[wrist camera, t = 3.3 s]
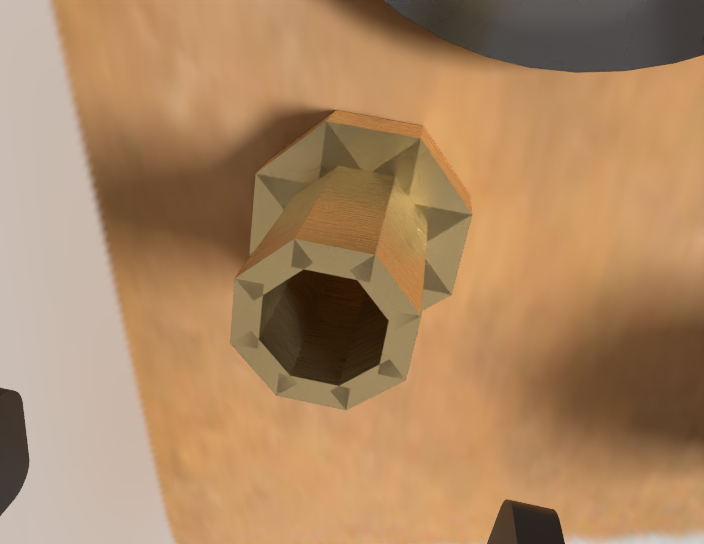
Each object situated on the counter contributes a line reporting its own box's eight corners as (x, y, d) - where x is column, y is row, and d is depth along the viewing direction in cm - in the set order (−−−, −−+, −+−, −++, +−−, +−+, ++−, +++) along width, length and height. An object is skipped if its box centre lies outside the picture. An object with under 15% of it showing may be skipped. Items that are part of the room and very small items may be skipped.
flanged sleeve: (485, 137, 19) (508, 222, 12) (438, 319, 22) (436, 469, 15) (275, 99, 20) (182, 160, 13) (259, 283, 23) (178, 413, 16)
